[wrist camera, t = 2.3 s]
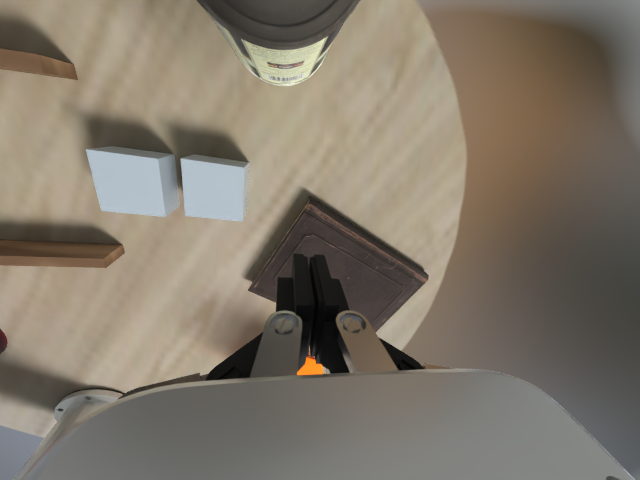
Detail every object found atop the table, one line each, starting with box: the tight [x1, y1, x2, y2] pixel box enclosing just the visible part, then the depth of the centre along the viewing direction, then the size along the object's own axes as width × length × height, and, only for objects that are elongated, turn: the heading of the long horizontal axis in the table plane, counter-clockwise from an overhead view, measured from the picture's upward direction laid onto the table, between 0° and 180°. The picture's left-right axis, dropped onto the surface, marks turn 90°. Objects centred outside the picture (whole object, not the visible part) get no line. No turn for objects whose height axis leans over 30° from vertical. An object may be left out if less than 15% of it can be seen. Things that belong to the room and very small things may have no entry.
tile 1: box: [181, 154, 249, 222], centre depth 26 cm, size 6×6×4 cm
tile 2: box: [86, 146, 180, 217], centre depth 25 cm, size 6×6×4 cm
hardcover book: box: [248, 197, 428, 332], centre depth 36 cm, size 16×23×2 cm
